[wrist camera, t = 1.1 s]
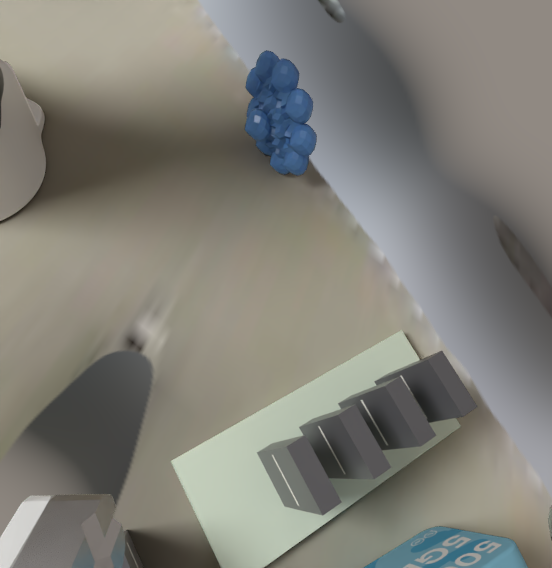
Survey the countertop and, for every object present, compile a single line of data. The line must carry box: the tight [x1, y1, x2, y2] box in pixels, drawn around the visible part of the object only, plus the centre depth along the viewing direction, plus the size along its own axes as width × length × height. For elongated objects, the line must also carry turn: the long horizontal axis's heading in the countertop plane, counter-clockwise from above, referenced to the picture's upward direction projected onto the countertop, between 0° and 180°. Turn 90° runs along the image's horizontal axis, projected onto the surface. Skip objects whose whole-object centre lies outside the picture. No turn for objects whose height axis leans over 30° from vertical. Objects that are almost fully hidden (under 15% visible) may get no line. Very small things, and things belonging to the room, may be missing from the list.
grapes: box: [245, 51, 317, 176], centre depth 50 cm, size 12×7×12 cm, turn 32°
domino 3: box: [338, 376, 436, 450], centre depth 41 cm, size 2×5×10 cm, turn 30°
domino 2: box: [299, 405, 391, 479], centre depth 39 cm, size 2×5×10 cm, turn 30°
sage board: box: [171, 330, 461, 568], centre depth 44 cm, size 26×11×1 cm, turn 120°
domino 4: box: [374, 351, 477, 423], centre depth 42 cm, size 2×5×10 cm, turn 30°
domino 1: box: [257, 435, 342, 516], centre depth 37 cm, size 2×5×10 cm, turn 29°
